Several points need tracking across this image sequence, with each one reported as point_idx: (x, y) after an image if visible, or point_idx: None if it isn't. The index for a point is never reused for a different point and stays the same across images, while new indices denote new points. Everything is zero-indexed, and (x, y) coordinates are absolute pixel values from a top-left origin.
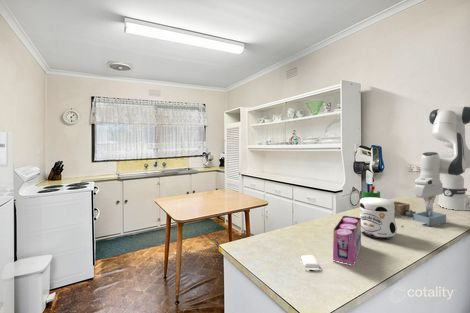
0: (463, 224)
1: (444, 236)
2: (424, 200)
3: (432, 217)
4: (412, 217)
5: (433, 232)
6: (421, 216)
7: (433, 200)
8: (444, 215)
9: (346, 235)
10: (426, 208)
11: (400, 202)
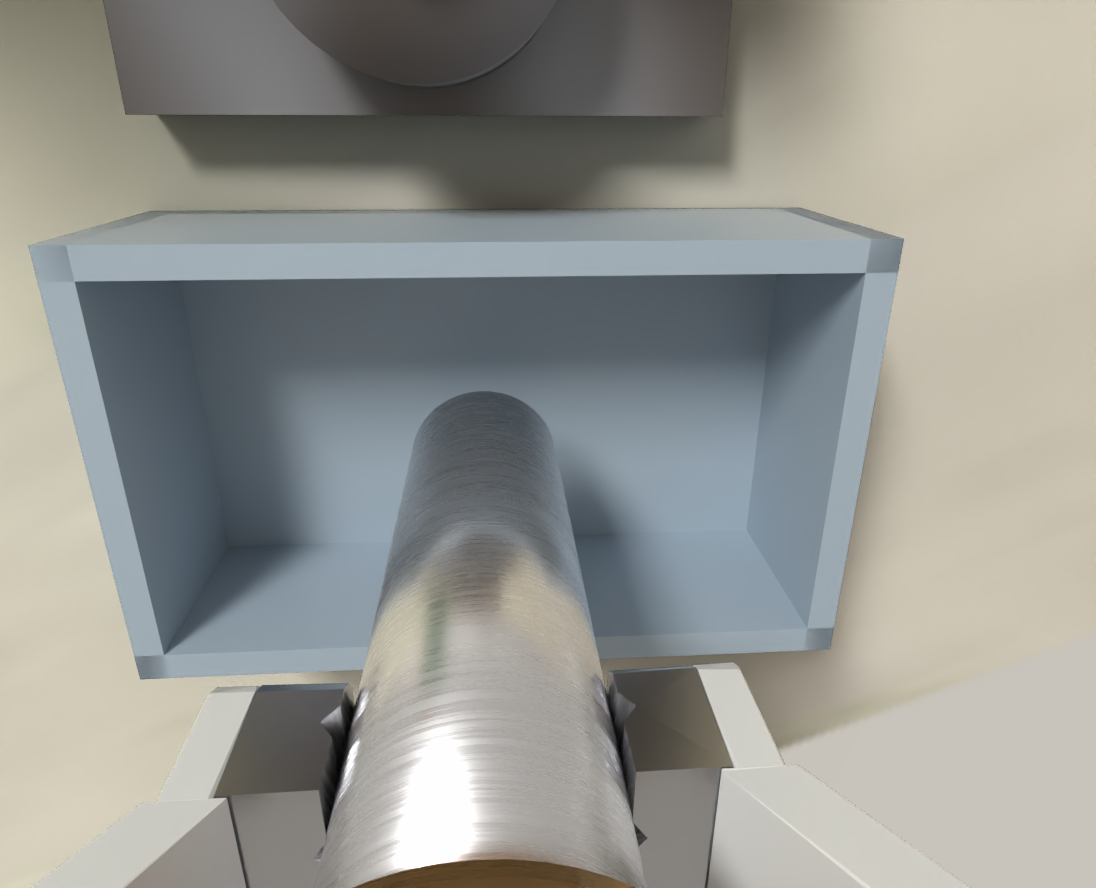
0: (893, 687)
1: (14, 849)
2: (123, 820)
3: (259, 665)
4: (305, 83)
5: (4, 717)
6: (96, 491)
7: (696, 885)
8: (753, 641)
9: None
10: (397, 535)
11: None
